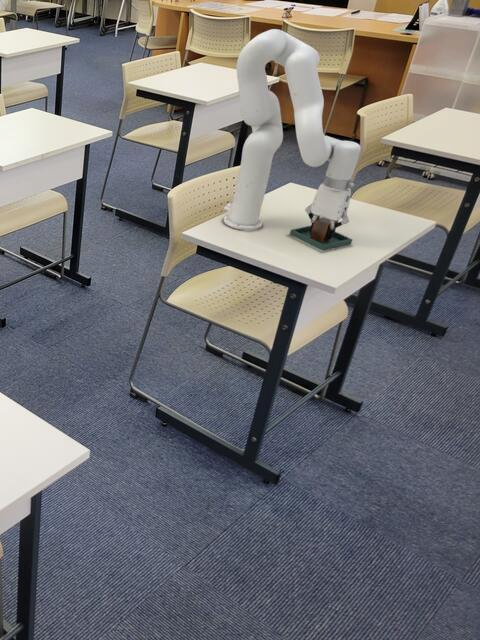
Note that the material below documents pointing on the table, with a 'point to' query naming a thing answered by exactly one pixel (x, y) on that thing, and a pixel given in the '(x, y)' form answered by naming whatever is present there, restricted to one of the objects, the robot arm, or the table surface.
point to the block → (320, 229)
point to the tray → (332, 243)
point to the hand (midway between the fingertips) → (320, 236)
